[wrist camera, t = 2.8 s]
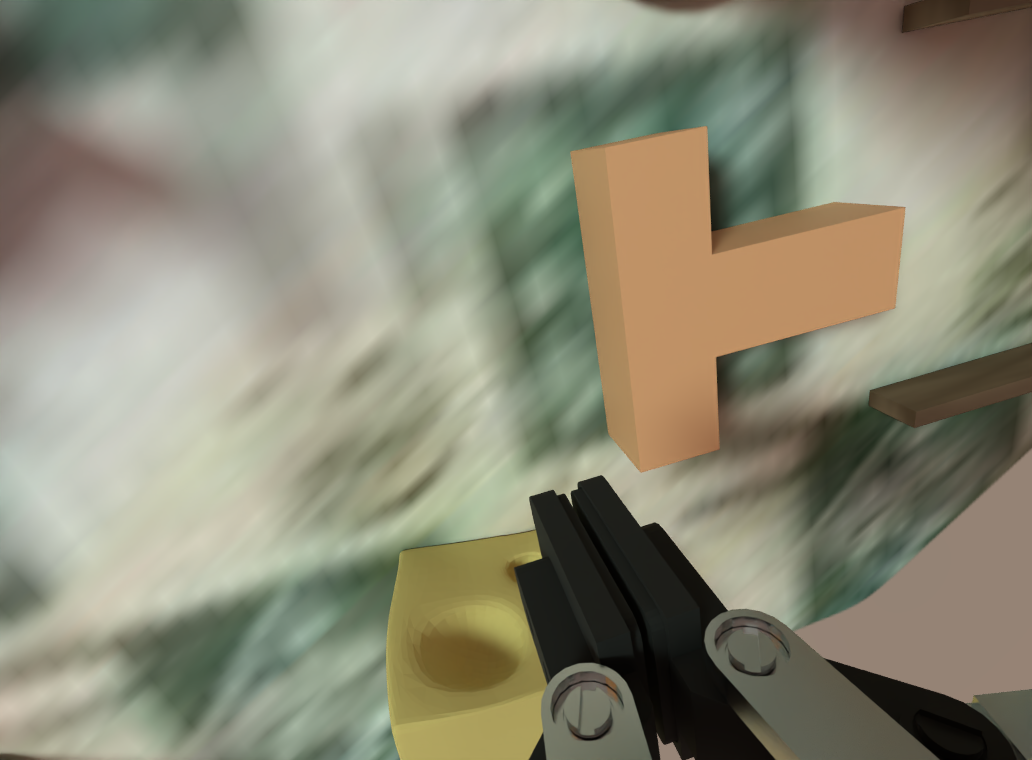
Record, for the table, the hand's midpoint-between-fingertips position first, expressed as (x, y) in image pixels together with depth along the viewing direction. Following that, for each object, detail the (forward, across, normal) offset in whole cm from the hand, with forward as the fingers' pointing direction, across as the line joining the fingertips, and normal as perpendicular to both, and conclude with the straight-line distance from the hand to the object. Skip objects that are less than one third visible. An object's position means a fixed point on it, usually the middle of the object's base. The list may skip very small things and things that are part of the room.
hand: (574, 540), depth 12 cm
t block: (+14, -12, -1) cm, 19 cm away
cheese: (+15, +3, +15) cm, 22 cm away
